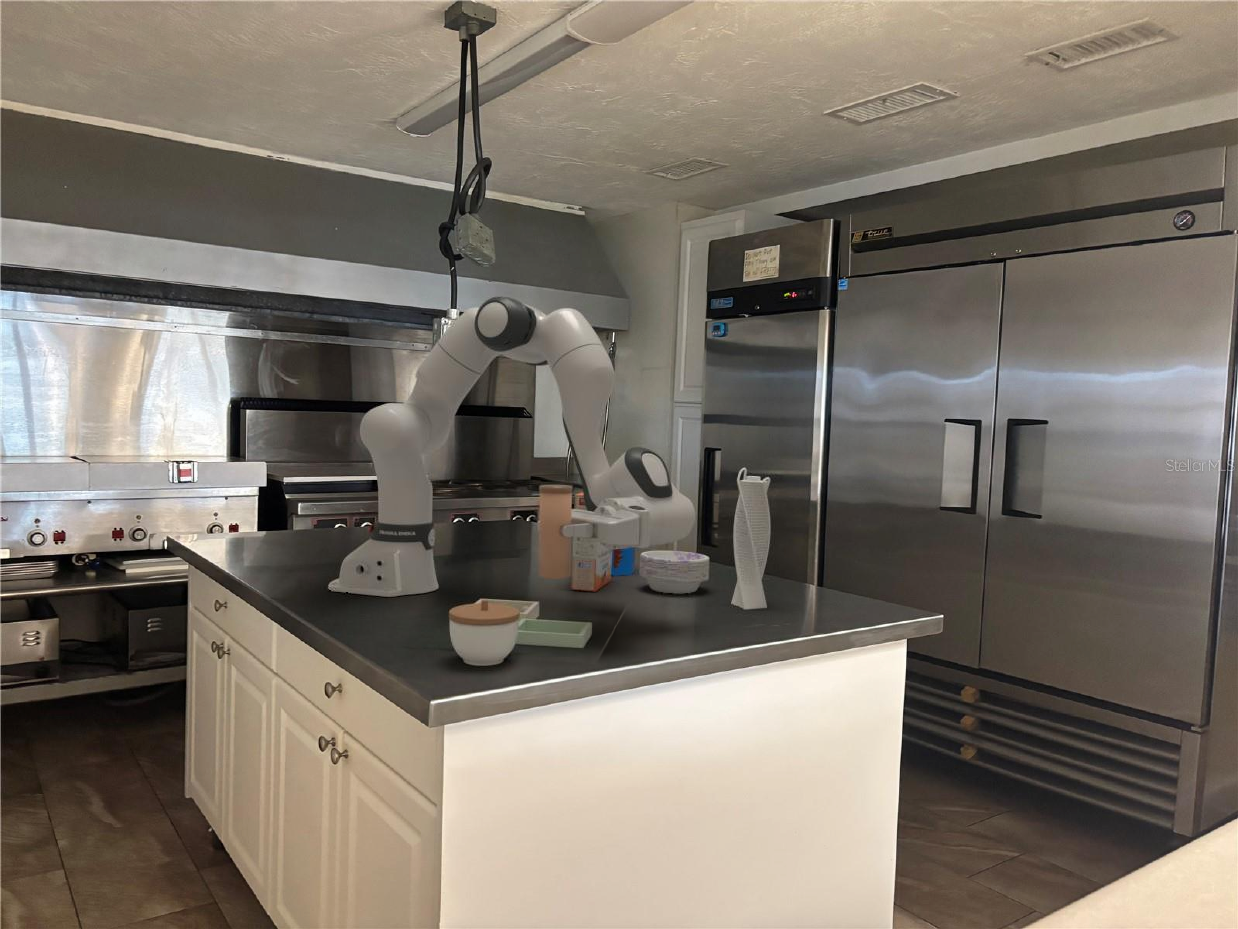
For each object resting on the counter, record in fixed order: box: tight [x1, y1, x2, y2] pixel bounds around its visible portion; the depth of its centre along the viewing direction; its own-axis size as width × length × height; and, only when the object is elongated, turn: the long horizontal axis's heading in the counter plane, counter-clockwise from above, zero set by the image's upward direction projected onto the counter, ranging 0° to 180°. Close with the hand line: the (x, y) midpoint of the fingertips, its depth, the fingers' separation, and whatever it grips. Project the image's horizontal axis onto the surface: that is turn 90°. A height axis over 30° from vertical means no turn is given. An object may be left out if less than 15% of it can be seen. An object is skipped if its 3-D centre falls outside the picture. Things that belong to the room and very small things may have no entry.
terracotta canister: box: [538, 484, 573, 580], centre depth 148 cm, size 5×5×15 cm
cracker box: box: [570, 492, 612, 593], centre depth 200 cm, size 14×6×21 cm, turn 166°
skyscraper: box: [731, 467, 771, 610], centre depth 184 cm, size 8×8×28 cm
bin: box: [473, 598, 540, 621], centre depth 162 cm, size 22×10×4 cm, turn 83°
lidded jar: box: [448, 598, 520, 667], centre depth 139 cm, size 11×11×9 cm
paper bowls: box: [638, 550, 710, 595], centre depth 198 cm, size 15×15×8 cm
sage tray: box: [515, 618, 593, 649], centre depth 149 cm, size 12×9×3 cm
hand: (550, 528), depth 148 cm, fingers closed on terracotta canister, 5 cm apart
